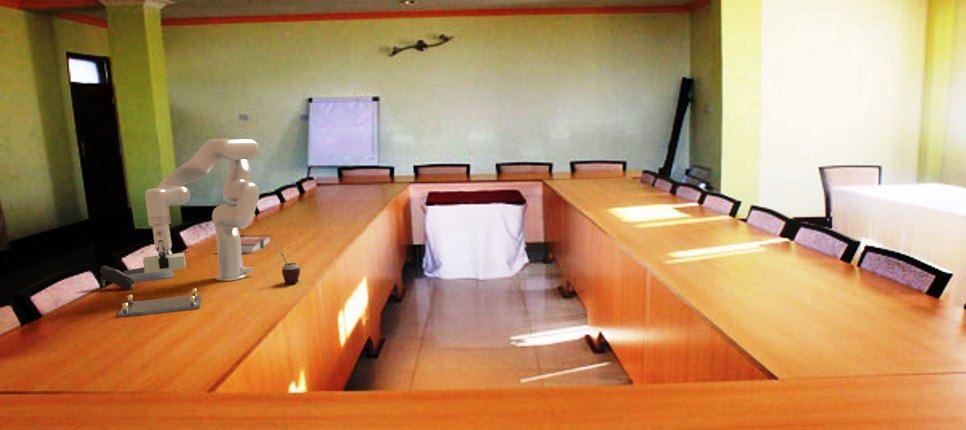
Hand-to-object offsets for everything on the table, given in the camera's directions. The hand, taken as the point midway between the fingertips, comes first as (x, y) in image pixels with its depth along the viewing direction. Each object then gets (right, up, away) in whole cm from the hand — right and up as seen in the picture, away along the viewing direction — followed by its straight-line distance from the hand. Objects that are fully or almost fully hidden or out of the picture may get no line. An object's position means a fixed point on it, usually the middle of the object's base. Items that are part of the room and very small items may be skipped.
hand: (165, 265), depth 245 cm
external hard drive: (-22, -8, +29) cm, 37 cm away
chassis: (+5, -14, -13) cm, 20 cm away
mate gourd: (+43, -9, +18) cm, 47 cm away
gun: (-26, -11, +13) cm, 30 cm away
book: (-1, +2, +88) cm, 88 cm away
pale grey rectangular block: (0, -1, 0) cm, 1 cm away
